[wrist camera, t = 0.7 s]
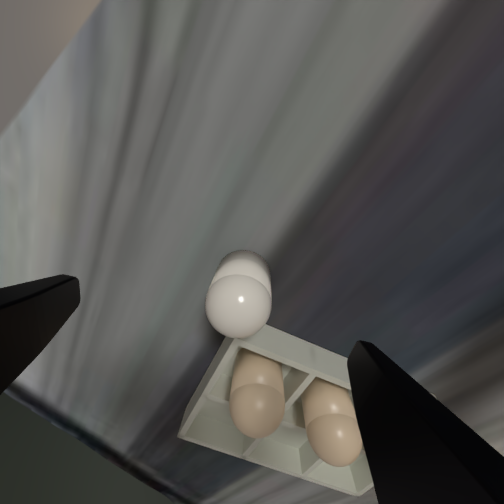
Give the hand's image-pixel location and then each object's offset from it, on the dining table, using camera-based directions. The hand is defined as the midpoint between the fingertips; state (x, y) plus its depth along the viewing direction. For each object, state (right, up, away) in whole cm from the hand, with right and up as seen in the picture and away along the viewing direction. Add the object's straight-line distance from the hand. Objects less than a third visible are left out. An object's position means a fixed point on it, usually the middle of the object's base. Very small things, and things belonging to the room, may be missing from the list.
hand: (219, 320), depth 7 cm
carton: (+6, -14, +17) cm, 23 cm away
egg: (0, 0, +12) cm, 12 cm away
